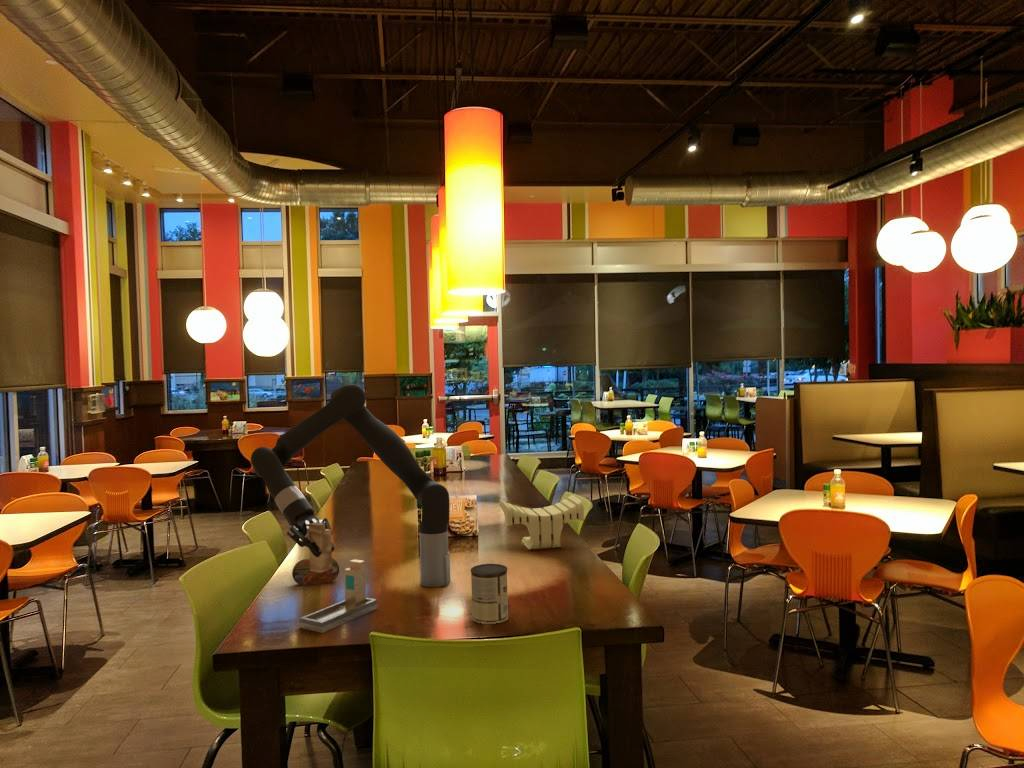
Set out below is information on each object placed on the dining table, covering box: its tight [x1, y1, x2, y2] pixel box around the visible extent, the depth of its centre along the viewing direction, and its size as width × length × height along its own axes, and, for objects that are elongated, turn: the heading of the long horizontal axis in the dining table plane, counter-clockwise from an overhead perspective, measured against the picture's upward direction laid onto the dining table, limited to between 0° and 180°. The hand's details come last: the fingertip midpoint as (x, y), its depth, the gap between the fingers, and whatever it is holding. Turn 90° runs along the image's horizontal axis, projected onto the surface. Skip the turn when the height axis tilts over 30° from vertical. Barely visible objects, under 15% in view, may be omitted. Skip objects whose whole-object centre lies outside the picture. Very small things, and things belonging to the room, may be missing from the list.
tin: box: [291, 557, 340, 586], centre depth 243 cm, size 15×3×8 cm, turn 105°
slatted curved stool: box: [498, 494, 585, 550], centre depth 286 cm, size 30×16×18 cm, turn 101°
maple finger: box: [308, 523, 333, 573], centre depth 202 cm, size 4×4×13 cm
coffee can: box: [470, 563, 509, 625], centre depth 205 cm, size 10×10×14 cm
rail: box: [299, 558, 378, 634], centre depth 208 cm, size 22×8×14 cm, turn 149°
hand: (325, 553), depth 201 cm, fingers closed on maple finger, 4 cm apart
